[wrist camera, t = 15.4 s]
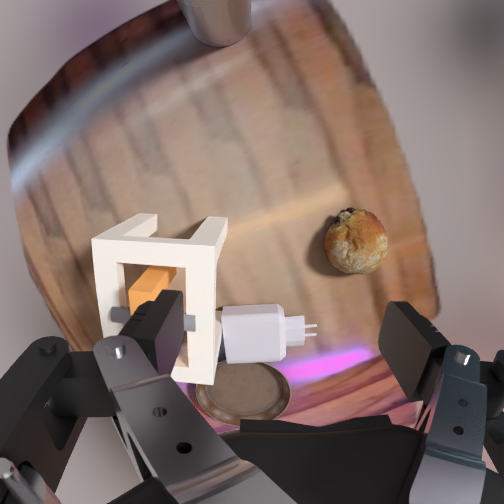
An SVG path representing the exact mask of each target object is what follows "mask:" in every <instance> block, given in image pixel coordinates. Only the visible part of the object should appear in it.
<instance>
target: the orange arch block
mask: <svg viewBox="0 0 504 504" xmlns="http://www.w3.org/2000/svg"><path fill="white" fill-rule="evenodd" d="M175 275H176V267H170V266H157V265H150V266H149V267H148V269H147V270H146V271H145V272H144V273H143V274H142V275H141V276H140V278H139V279H138V280H137V281H136V282H135V283H134V284H133V286H132V287H131V288H130V289H129V290H128V293H129V303H130V312H131V316H132V314H134V312H135V310H136V309H137V307H138V306H139V305H141V304H143V303H145V302H146V301H148V300H149V301H155V299H156V298H157V296H158V295H159V293H160V292H161V290H162V289H165V290H166V289H167V287H168V286H169V284H170V283H171V281H172V279H173V278H174V276H175Z"/></svg>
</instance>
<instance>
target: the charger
mask: <svg viewBox="0 0 504 504" xmlns="http://www.w3.org/2000/svg"><path fill="white" fill-rule="evenodd" d="M221 320H222V330H223V338H224V345H225V353H226V360H227V364H234V363H257V362H273V361H281V360H282V359H283V358H284V357H285V356H286V346H299V345H304V341H305V337H308V336H316V335H317V334H316V333H309V334H305V328H310V327H317V324H310V325H305V323H304V316H292V317H285V316H284V310H283V308H282V307H281V306H280V305H279V304H277V303H273V304H258V305H240V306H223V310H222V315H221Z"/></svg>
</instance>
